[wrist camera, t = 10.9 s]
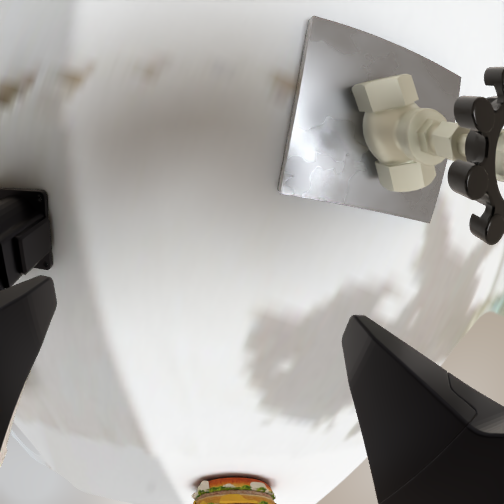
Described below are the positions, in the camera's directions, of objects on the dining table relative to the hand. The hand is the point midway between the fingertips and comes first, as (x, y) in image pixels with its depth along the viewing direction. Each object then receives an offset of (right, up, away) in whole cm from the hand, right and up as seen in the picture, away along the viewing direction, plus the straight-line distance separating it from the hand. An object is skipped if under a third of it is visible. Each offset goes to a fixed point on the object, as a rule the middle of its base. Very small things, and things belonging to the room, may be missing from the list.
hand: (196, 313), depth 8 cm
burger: (-2, -37, +31) cm, 48 cm away
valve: (+10, +10, +10) cm, 17 cm away
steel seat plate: (+10, +11, +10) cm, 18 cm away
